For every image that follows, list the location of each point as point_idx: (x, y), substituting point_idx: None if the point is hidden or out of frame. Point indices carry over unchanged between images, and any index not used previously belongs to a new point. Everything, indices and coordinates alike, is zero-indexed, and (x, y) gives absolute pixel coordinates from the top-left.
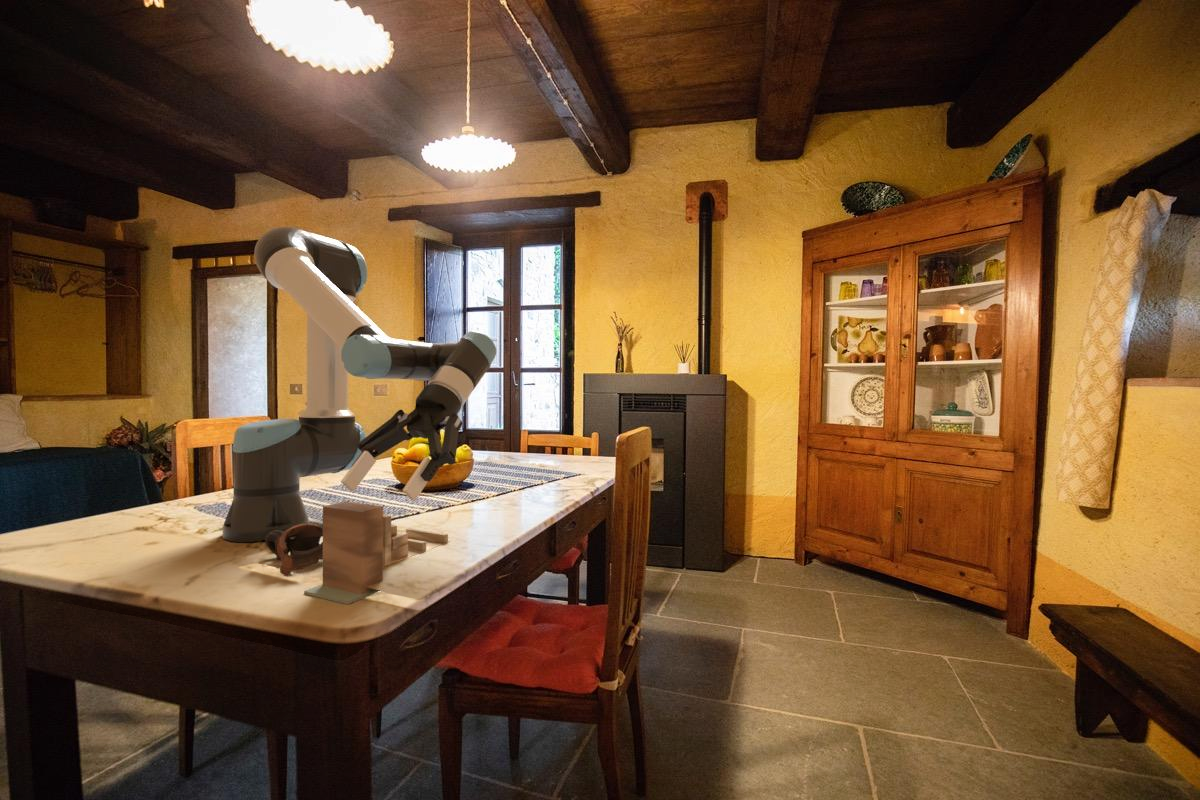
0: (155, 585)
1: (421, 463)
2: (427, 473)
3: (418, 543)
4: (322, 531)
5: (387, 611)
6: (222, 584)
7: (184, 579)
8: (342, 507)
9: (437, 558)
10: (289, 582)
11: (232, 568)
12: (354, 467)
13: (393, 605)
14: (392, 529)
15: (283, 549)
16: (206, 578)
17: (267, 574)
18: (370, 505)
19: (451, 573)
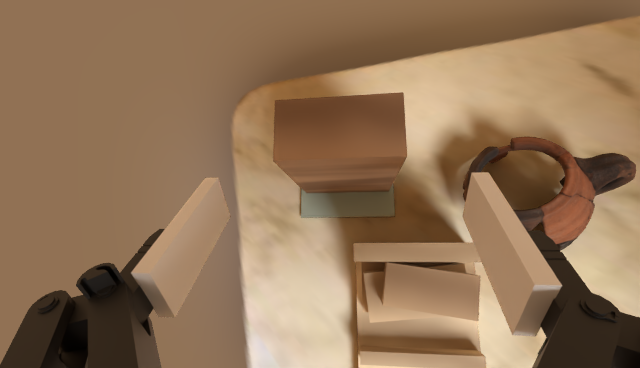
0: (628, 42)
1: (164, 248)
2: (150, 237)
3: (371, 351)
4: (516, 210)
5: (242, 142)
6: (540, 92)
7: (623, 74)
8: (351, 108)
9: (333, 354)
10: (456, 144)
11: (620, 138)
12: (494, 210)
13: (248, 158)
14: (383, 291)
15: (513, 138)
16: (596, 93)
17: None
18: (310, 155)
19: (256, 294)
